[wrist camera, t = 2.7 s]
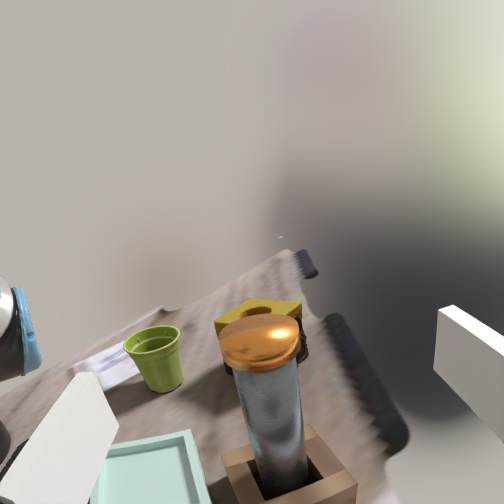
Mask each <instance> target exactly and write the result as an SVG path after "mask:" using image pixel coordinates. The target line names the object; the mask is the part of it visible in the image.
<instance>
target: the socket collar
mask: <svg viewBox="0 0 504 504" xmlns="http://www.w3.org/2000/svg"><path fill="white" fill-rule="evenodd" d="M304 435H305V444H306V454H307V464H308V475H309V477H310V478H311V480H312V481H313V484H310V485H308V486H305V487H303V488H300V489H298V490H295V491H293V492H290V493H287V494H285V495H282V496H279V497H276V498H273V499H270V500H267V501H265V500H264V498H263V496H262V494H261V492H260V490H259V488H258V486H257V483H256V482H257V481H260V480H261V479H260V475H259V471H258V468H257V464H256V460H255V457H254V453H253V449H252V446H251V444H250V445H247V446H244V447H241V448H237V449H234V450H230V451H227V452H223V453H220V456H221V459H222V462H223V465H224V467H225V470H226V473H227V475H228V478H229V480H230V483H231V486H232V488H233V491H234V493H235V496H236V498H237V501H238V503H239V504H355V503H356V495H357V487H358V482H357V481H356V480H355V479H354V478H353V477H352V475H351V474H350V473H349V472H348V471H347V469H346V468H345V467H344V466H343V465H342V463H341V462H340V461H339V460H338V458H337V457H336V456H335V455H334V454H333V452H332V451H331V450H330V449H329V447H328V446H327V445H326V444H325V443H324V441H323V440H322V439H321V438H320V436H319V435H318V434H317V433H316V431H315V430H314V429H313V427H312V426H311V425H310V424H307V425H304Z"/></svg>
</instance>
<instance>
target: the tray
mask: <svg viewBox="0 0 504 504" xmlns="http://www.w3.org/2000/svg"><path fill="white" fill-rule="evenodd" d="M90 504H213V502H212V499H211V496H210V492H209V489H208V486H207V483H206V479H205V476H204V473H203V469H202V466H201V462H200V459H199V455H198V451H197V448H196V444H195V440H194V438H193V435H192V433H191V430H190V429H189V430H184V431H180V432H176V433H171V434H166V435H162V436H157V437H152V438H147V439H141V440H136V441H130V442H124V443H117V444H111V447H110V449H109V451H108V454H107V456H106V458H105V461H104V463H103V466H102V468H101V470H100V473H99V475H98V478H97V480H96V483H95V485H94V488H93V490H92V493H91V495H90Z"/></svg>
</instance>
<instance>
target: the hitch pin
mask: <svg viewBox="0 0 504 504" xmlns="http://www.w3.org/2000/svg"><path fill="white" fill-rule="evenodd" d="M219 343H220V347H221V351H222V356H223V359H224V361H225V363H226V364H227V365H229V366H230V367H232V369H233V374H234V378H235V382H236V386H237V390H238V394H239V399H240V403H241V407H242V411H243V415H244V419H245V422H246V426H247V430H248V434H249V438H250V442H251V446H252V449H253V453H254V457H255V460H256V464H257V468H258V471H259V475H260V479H261V482H262V486H263V489H264V493H265V496H266V499H267V500H270V499H273V498H276V497H279V496H282V495H285V494H287V493H290V492H293V491H295V490H298V489H300V488H303V487H305V486H308V485H309V475H308V464H307V454H306V444H305V435H304V425H303V416H302V407H301V398H300V389H299V381H298V372H297V364H296V355H297V354H298V353H299V351H300V348H301V342H300V334H299V326H298V323H297V321H296V320H295V319H293V318H292V317H290V316H287V315H283V314H258V315H252V316H248V317H244V318H241V319H239V320H236V321H234V322H232V323H230V324H229V325H227V326H226V327H224V328H223V329H222V330H221V332H220V334H219Z"/></svg>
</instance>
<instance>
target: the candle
mask: <svg viewBox="0 0 504 504" xmlns="http://www.w3.org/2000/svg"><path fill="white" fill-rule="evenodd" d="M258 314H283V315H287V316H290V317H292V318H293V319H295V320H296V321H297V323H298V326H299V334H300V342H301V348H300V351H299V353H298V354H297V355H296V364H297V367H298V364H299V363H300V362H301V361H302V360H304V359H305V358H306V357H307V356H308V355H309V354H308V348H307V344H306V336H305V333H304V330H303V327H302V304H301V302H290V301H277V300H267V299H255V298H251V299H249V300H247V301H245V302H244V303H242V304H240V305H239V306H238V307H236V308H234V309H233V310H231V311H230V312H228V313H226V314H225V315H223V316H221V317H220V318H218V319H216V320H215V321H214V323H215V329H216V333H217V337H218V340H219V334H220V332H221V330H222V329H223V328H224V327H226V326H227V325H229V324H230V323H232V322H234V321H236V320H239V319H241V318H244V317H248V316H252V315H258ZM223 361H224V359H223ZM224 364H225V367H226V372H227V373H229V374H231V375H234V374H233V369H232V367H230V366H229V365H227V364H226V363H225V361H224Z"/></svg>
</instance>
